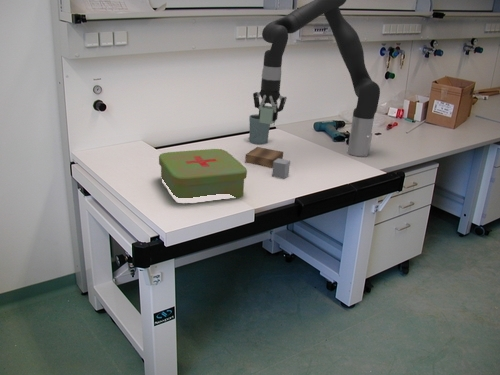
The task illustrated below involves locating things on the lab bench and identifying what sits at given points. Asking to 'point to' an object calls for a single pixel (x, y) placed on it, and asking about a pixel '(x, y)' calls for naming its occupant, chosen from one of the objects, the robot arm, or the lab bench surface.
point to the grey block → (281, 168)
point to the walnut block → (263, 157)
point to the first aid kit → (202, 173)
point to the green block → (266, 115)
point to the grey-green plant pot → (258, 130)
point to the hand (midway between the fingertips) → (267, 119)
